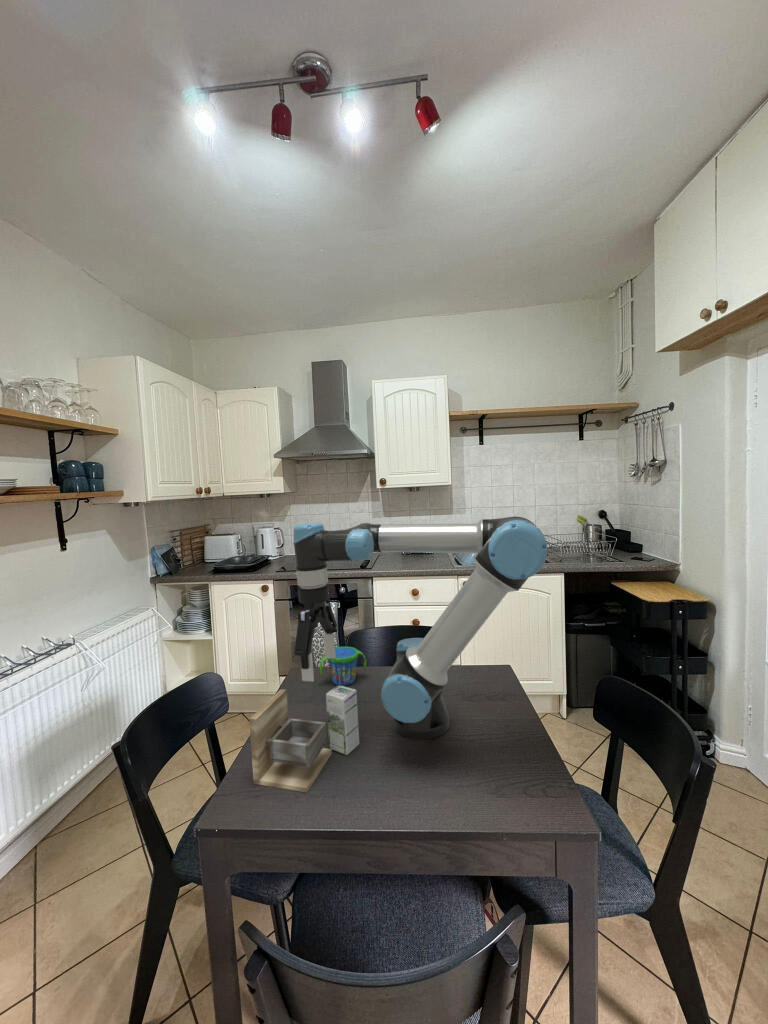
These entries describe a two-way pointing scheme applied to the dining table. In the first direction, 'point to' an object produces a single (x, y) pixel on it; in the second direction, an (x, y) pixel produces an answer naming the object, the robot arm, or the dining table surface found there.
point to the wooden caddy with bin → (286, 747)
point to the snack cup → (343, 665)
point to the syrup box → (342, 719)
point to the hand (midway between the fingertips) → (320, 668)
